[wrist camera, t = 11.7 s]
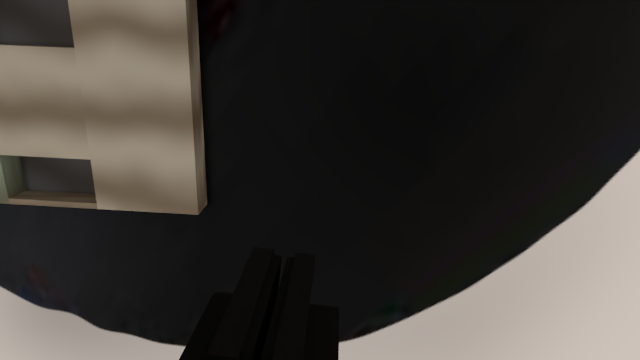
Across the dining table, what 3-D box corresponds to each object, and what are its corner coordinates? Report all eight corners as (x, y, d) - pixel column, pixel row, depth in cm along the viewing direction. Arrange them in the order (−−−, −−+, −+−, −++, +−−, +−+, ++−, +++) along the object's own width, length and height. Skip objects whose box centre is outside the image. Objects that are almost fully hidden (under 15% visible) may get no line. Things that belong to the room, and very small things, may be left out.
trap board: (-118, -19, 33) (-186, -28, 29) (196, -7, 32) (174, -16, 28) (-62, 189, 39) (-112, 206, 35) (207, 204, 38) (190, 224, 34)
